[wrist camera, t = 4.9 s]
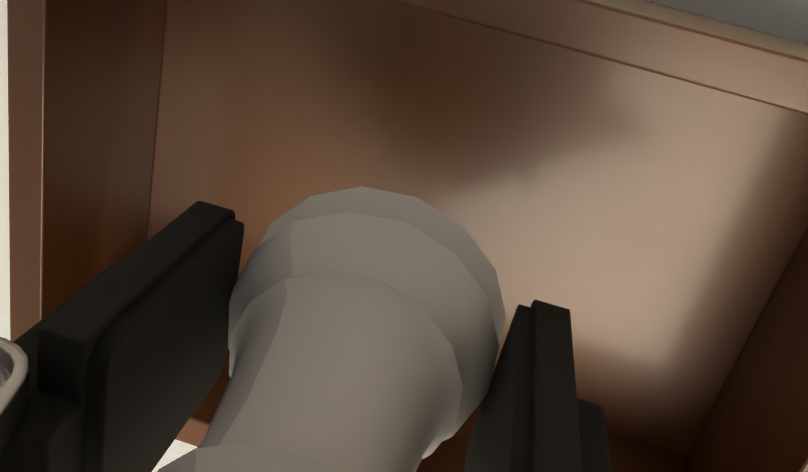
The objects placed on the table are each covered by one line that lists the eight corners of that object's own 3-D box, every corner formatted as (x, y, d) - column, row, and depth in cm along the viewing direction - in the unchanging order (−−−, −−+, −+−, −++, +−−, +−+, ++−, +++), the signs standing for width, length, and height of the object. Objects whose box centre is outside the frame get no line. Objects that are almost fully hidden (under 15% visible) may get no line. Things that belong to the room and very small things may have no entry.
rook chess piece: (211, 231, 12) (-260, 665, 5) (440, 134, 11) (241, 545, 4) (328, 428, 14) (87, 995, 6) (547, 365, 12) (558, 1005, 5)
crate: (125, 290, 21) (9, 384, 17) (156, -129, 16) (4, -156, 12) (698, 474, 20) (742, 632, 15) (919, 74, 15) (1081, 132, 10)
